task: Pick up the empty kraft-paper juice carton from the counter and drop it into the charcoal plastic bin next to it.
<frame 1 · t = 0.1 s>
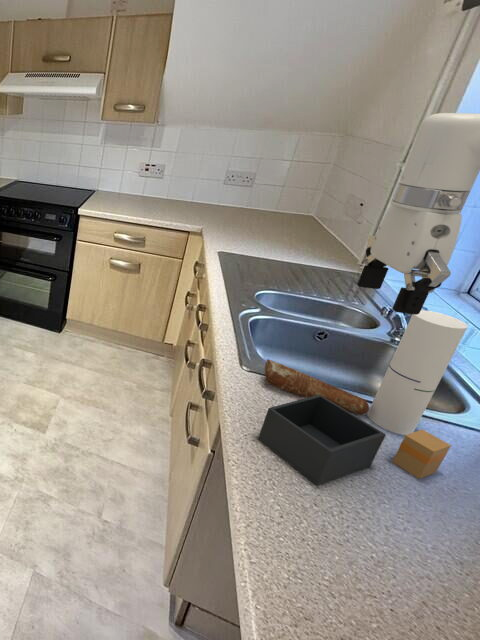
hand: (385, 299, 69), 33 cm above the counter, tool pointing down, fingers open, 9 cm apart
bread: (309, 396, 95), on the counter
carton: (413, 467, 77), on the counter
bin: (311, 452, 80), on the counter
cylindrical container: (389, 422, 88), on the counter
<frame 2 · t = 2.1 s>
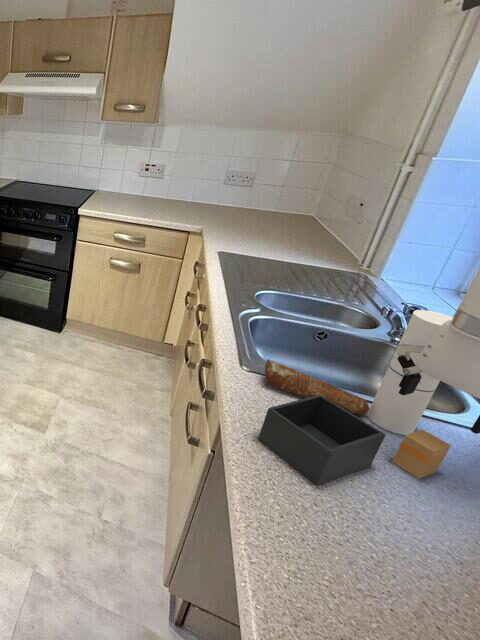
hand: (439, 411, 72), 13 cm above the counter, tool pointing down, fingers open, 9 cm apart
nothing on the counter moved.
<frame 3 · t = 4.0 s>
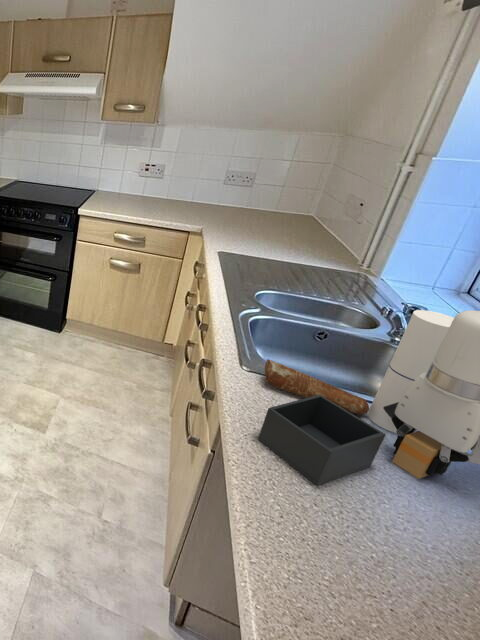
hand: (416, 462, 76), 1 cm above the counter, tool pointing down, fingers closed on carton, 4 cm apart
carton: (413, 467, 77), on the counter, touching gripper
everything else where it was.
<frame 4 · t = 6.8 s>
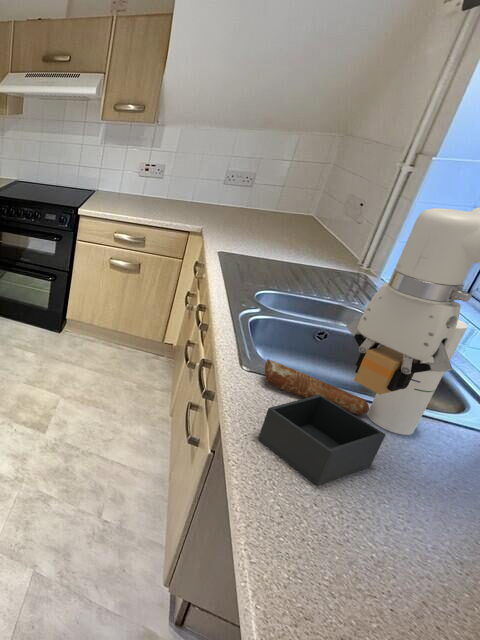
hand: (378, 379, 72), 18 cm above the counter, tool pointing down, fingers closed on carton, 4 cm apart
carton: (376, 385, 73), point 17 cm above the counter, touching gripper
everything else where it was.
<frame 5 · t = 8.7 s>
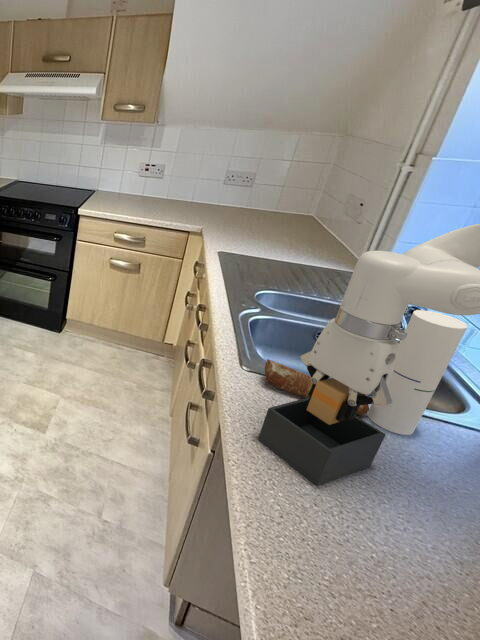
hand: (329, 409, 76), 10 cm above the counter, tool pointing down, fingers closed on carton, 4 cm apart
carton: (326, 414, 76), point 9 cm above the counter, touching gripper
everything else where it was.
when the fingers open (7 cm above the counter, at t = 10.0 s): carton drops 5 cm, resting on bin.
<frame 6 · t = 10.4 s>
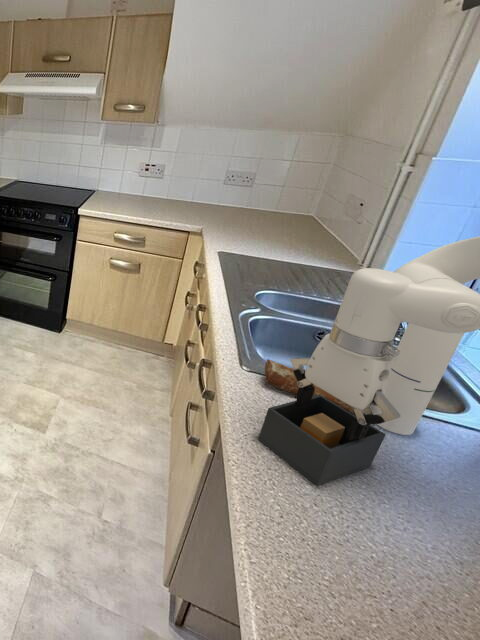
hand: (326, 420, 77), 8 cm above the counter, tool pointing down, fingers open, 8 cm apart
carton: (313, 449, 79), point 1 cm above the counter, touching bin
everything else where it was.
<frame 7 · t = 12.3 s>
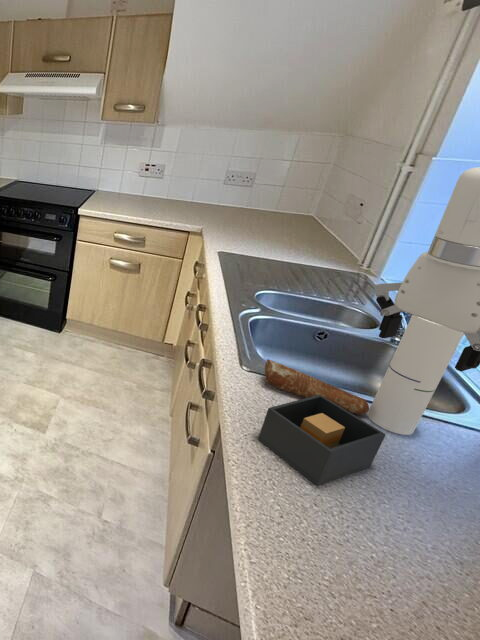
hand: (422, 351, 67), 26 cm above the counter, tool pointing down, fingers open, 9 cm apart
nothing on the counter moved.
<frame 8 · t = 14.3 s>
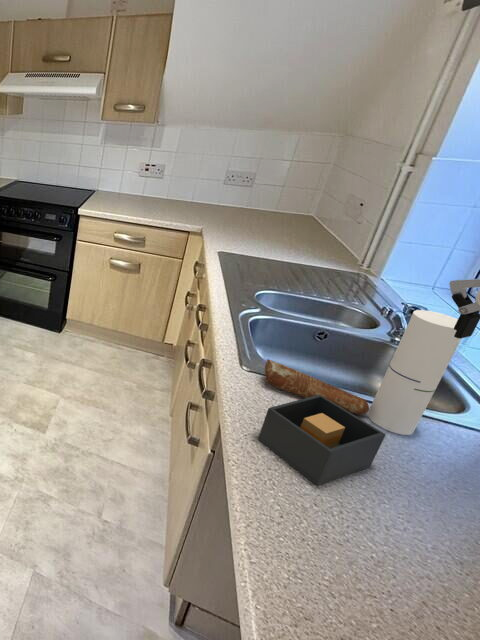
nothing on the counter moved.
at the end: carton inside the target area in the bin (0.0 cm from its centre), point 0.8 cm above the bin's base; the gripper is holding nothing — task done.
